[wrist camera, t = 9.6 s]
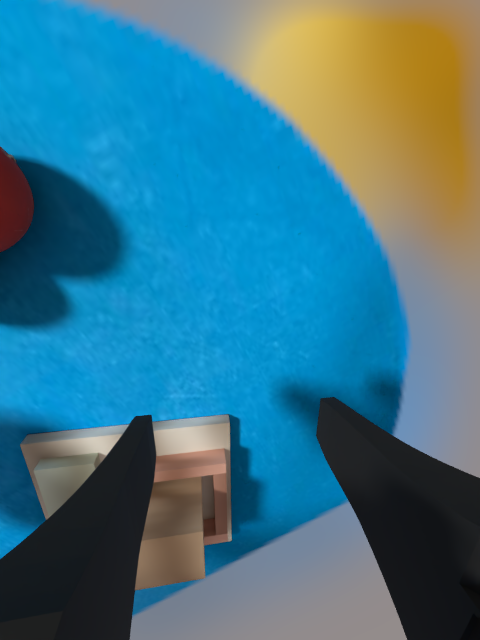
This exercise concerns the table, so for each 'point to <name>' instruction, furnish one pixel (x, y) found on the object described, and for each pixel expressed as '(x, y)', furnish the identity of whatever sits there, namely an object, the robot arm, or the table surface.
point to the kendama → (13, 202)
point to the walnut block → (172, 535)
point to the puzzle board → (171, 463)
